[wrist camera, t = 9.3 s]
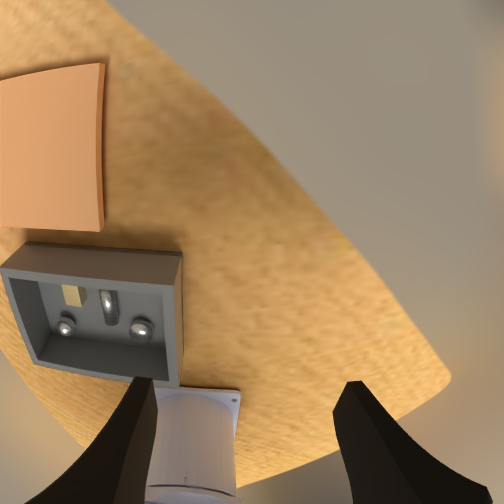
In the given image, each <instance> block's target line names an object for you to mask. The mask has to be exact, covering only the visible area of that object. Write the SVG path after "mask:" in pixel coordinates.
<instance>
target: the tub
mask: <svg viewBox="0 0 504 504" xmlns="http://www.w3.org/2000/svg"><path fill="white" fill-rule="evenodd" d="M0 273H1V276H2V280H3V283H4V286H5V290H6V293H7V296H8V299H9V302H10V305H11V308H12V311H13V314H14V317H15V319H16V322H17V325H18V327H19V330H20V333H21V335H22V338H23V340H24V343H25V345H26V347H27V350H28V352H29V354H30V357H31V359H32V361H33V363H34V364H36V365H40V366H44V367H48V368H52V369H57V370H61V371H66V372H71V373H76V374H81V375H86V376H92V377H97V378H103V379H109V380H116V381H122V382H129V383H131V382H132V380H133V378H134V377H136V376H139V377H147V378H153V384H154V386H163V387H173V388H179V386H180V377H181V369H182V362H183V354H184V341H183V297H182V253H180V252H166V251H151V250H137V249H123V248H108V247H94V246H81V245H67V244H53V243H40V242H25V243H24V244H23V245H22V246H21V247H20V248H19V249H18V250H17V251H16V252H15V253H13V254H12V255H11V256H10V257H9V258H8V259H7V260H6V261H5V262H4V263H3V264H2V265H1V266H0Z"/></svg>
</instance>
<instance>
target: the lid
mask: <svg viewBox="0 0 504 504" xmlns="http://www.w3.org/2000/svg"><path fill="white" fill-rule="evenodd" d="M104 74H105V64H103V63H94V64H85V65H77V66H70V67H64V68H58V69H52V70H46V71H41V72H36V73H31V74H27V75H22V76H18V77H14V78H10V79H6V80H2V81H0V227H15V228H36V229H57V230H76V231H95V232H100V231H101V230H102V229H103V228H104V226H105V223H104V210H103V192H102V154H101V141H102V105H103V87H104Z"/></svg>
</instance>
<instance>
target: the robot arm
mask: <svg viewBox="0 0 504 504" xmlns="http://www.w3.org/2000/svg"><path fill="white" fill-rule="evenodd" d="M240 400H241V392H240V391H237V390H221V389H202V388H188V387H179V388H173V387H163V386H154V384H153V378H147V377H139V376H136V377H134V378H133V380H132V382H131V384H130V386H129V388H128V390H127V391H126V393H125V395H124V397H123V398H122V400H121V402H120V403H119V405H118V406H117V408H116V410H115V411H114V413H113V414H112V416H111V417H110V419H109V420H108V422H107V423H106V425H105V426H104V427H103V429H102V430H101V431H100V433H99V434H98V435H97V437H96V438H95V439H94V441H93V442H92V443H91V444H90V446H89V447H88V448H87V449H86V450H85V452H84V453H83V454H82V455H81V456H80V457H79V458H78V459H77V460H76V461H75V462H74V463H73V465H72V466H70V467H69V468H68V469H67V471H65V472H64V473H63V474H62V475H61V476H60V477H59V478H58V479H57V480H55V481H54V482H53V483H52V484H51V485H49V486H48V487H47V488H46V489H45V490H43V491H42V492H41V493H39V494H38V495H37V496H35V497H33V498H32V499H30V500H29V501H28V502H26V503H25V504H245V503H244V498H237V494H236V493H237V492H236V472H235V450H234V440H235V433H236V427H237V420H238V413H239V407H240ZM333 419H334V426H335V432H336V436H337V440H338V443H339V447H340V450H341V454H342V457H343V460H344V463H345V467H346V471H347V474H348V477H349V481H350V486H351V491H352V498H353V504H492V503H493V501H492V498H491V496H490V493H489V491H488V490H487V487H486V486H483V485H481V484H479V483H476V482H474V481H472V480H470V479H468V478H466V477H464V476H462V475H460V474H458V473H457V472H455V471H453V470H452V469H450V468H449V467H447V466H446V465H444V464H442V463H441V462H440V461H438V460H437V459H435V458H434V457H433V456H432V455H430V454H429V453H428V452H427V451H426V450H424V449H423V448H422V447H421V446H420V445H419V444H417V443H416V442H415V441H414V440H413V439H412V438H411V437H410V436H409V435H408V434H407V433H406V432H405V431H404V430H403V429H402V428H401V427H400V426H399V425H398V423H397V422H396V421H395V420H394V419H393V418H392V417H391V415H390V414H389V413H388V412H387V411H386V410H385V409H384V407H383V406H382V405H381V404H380V402H379V401H378V400H377V399H376V398H375V396H374V395H373V394H372V393H371V392H370V390H369V389H368V388H367V387H366V385H365V384H364V383H363V382H362V381H351V382H347V384H346V386H345V388H344V390H343V392H342V394H341V396H340V398H339V400H338V402H337V404H336V406H335V408H334V410H333Z"/></svg>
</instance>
